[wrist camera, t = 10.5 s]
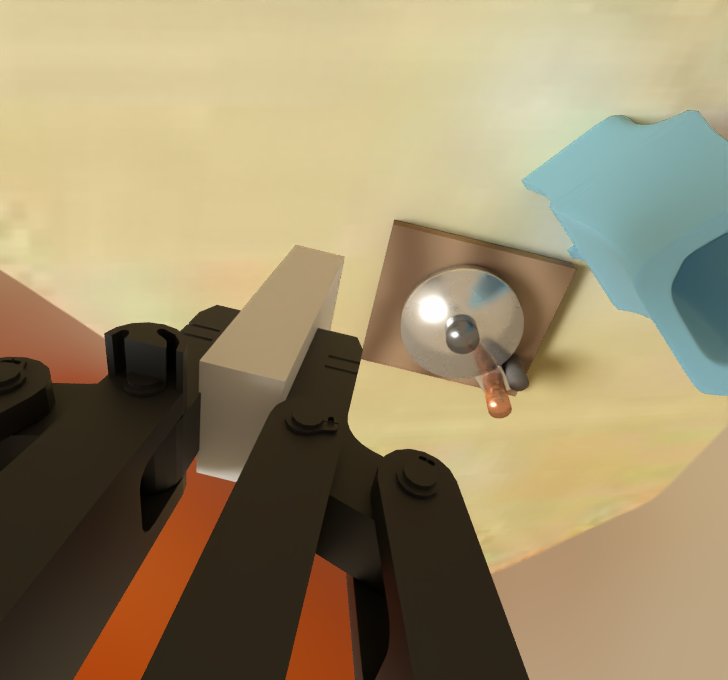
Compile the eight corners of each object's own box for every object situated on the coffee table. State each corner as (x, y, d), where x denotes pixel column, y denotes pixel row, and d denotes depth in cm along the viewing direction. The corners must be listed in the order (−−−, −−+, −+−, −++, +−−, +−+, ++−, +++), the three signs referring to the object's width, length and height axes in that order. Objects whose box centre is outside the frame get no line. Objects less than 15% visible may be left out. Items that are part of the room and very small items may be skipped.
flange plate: (379, 301, 38) (373, 331, 33) (487, 241, 35) (497, 265, 30) (449, 404, 43) (452, 443, 38) (551, 361, 39) (569, 398, 34)
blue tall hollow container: (671, 196, 33) (937, 309, 16) (572, 258, 37) (706, 409, 19) (622, 105, 31) (874, 123, 14) (521, 180, 34) (621, 273, 17)
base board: (362, 350, 43) (355, 379, 39) (394, 219, 37) (390, 237, 32) (512, 387, 43) (522, 420, 39) (571, 262, 37) (590, 285, 32)
